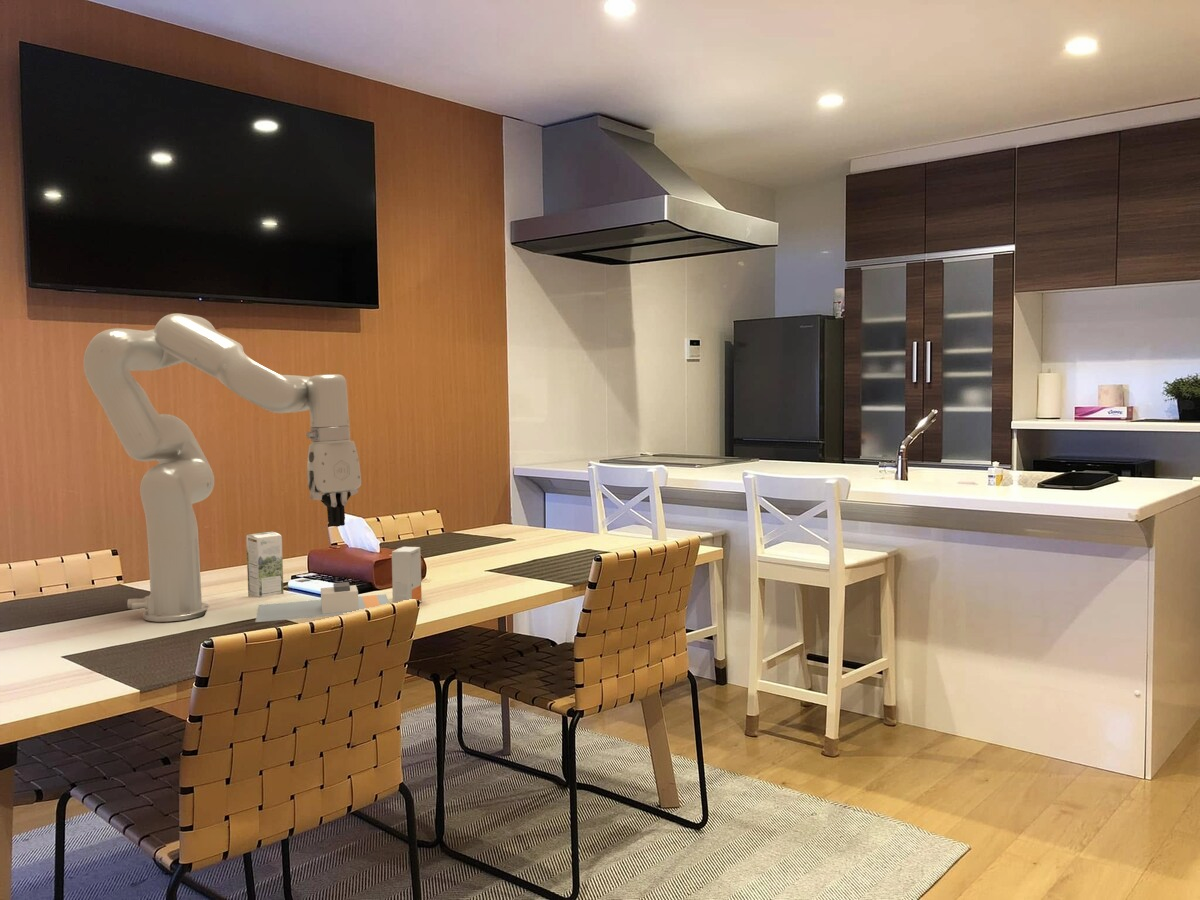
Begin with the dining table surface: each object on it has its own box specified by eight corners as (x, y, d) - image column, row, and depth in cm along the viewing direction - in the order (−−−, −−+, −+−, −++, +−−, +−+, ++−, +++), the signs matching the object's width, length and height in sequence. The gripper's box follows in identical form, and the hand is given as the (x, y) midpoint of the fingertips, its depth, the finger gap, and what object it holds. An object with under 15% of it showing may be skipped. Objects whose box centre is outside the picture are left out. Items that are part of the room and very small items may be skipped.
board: (255, 628, 179) (255, 622, 179) (259, 610, 193) (258, 604, 193) (392, 615, 187) (392, 609, 187) (386, 599, 201) (385, 594, 201)
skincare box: (411, 608, 193) (409, 551, 192) (392, 607, 194) (390, 551, 193) (422, 601, 199) (421, 546, 198) (404, 601, 199) (402, 546, 199)
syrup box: (272, 594, 209) (270, 530, 208) (284, 598, 204) (282, 533, 203) (248, 598, 205) (245, 533, 204) (259, 602, 200) (256, 536, 199)
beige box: (322, 614, 184) (321, 589, 184) (321, 607, 190) (320, 583, 190) (358, 610, 187) (357, 586, 186) (356, 604, 192) (355, 580, 192)
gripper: (309, 438, 178) (315, 532, 180) (372, 433, 190) (378, 521, 191) (287, 438, 183) (293, 530, 184) (350, 433, 195) (356, 519, 196)
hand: (336, 525), depth 188 cm, fingers closed
